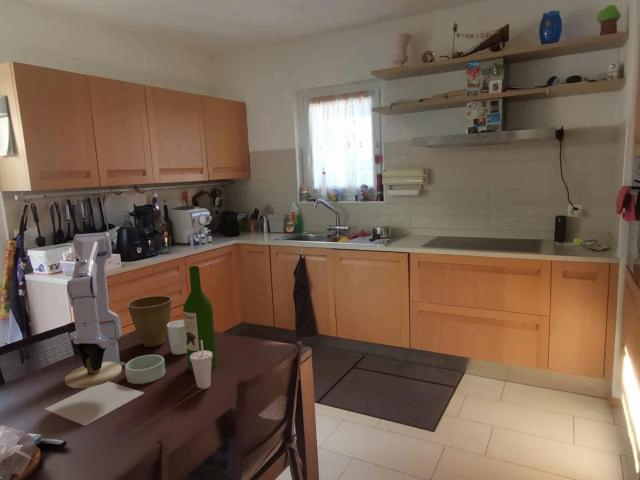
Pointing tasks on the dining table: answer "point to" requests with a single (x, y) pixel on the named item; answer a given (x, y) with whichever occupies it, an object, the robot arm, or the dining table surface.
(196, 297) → the wine bottle
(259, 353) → the dining table surface
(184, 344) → the white cup
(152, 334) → the plant pot
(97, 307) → the robot arm
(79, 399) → the mat
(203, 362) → the smoothie
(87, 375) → the lid
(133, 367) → the bowl
